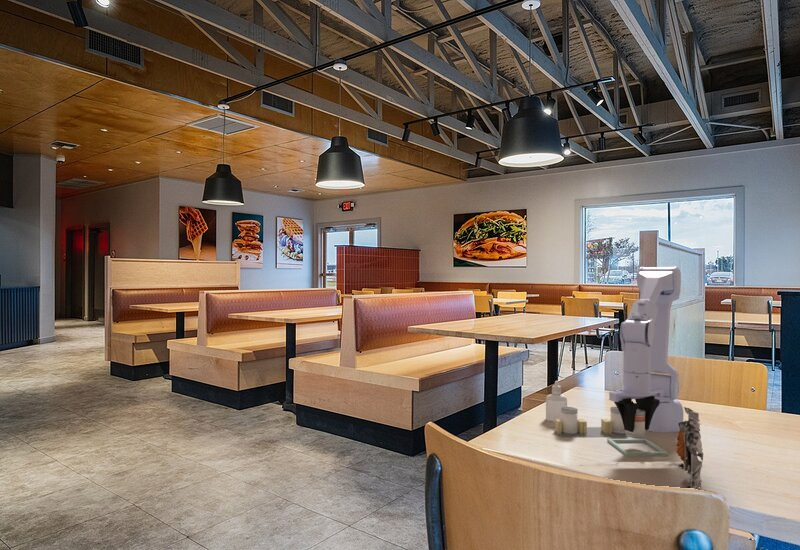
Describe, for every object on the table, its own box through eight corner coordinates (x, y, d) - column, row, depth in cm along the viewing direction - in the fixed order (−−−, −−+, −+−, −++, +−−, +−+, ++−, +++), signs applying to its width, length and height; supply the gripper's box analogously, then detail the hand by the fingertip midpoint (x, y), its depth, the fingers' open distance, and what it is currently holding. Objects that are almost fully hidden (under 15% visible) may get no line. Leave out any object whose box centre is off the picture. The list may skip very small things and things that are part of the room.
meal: (674, 465, 109) (674, 405, 109) (697, 469, 107) (697, 408, 107) (677, 492, 95) (678, 424, 95) (703, 496, 93) (704, 427, 93)
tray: (646, 446, 121) (646, 438, 121) (668, 460, 111) (668, 452, 111) (607, 446, 121) (607, 438, 121) (626, 461, 111) (626, 453, 111)
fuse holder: (624, 431, 132) (624, 415, 132) (640, 441, 124) (640, 424, 124) (550, 431, 132) (550, 416, 132) (561, 442, 124) (561, 425, 124)
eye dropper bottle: (562, 428, 135) (562, 384, 135) (543, 423, 139) (543, 381, 139) (569, 424, 138) (569, 381, 138) (550, 420, 142) (550, 378, 142)
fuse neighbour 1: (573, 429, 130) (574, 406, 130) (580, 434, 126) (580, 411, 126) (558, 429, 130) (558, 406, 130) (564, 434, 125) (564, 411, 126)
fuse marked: (649, 437, 115) (649, 411, 115) (635, 439, 114) (635, 413, 114) (635, 432, 119) (635, 407, 119) (621, 433, 117) (621, 408, 117)
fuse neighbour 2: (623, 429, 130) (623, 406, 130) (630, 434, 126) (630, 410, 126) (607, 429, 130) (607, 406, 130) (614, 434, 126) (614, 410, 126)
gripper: (646, 366, 122) (646, 421, 122) (599, 370, 117) (599, 427, 117) (671, 372, 116) (670, 430, 116) (622, 376, 111) (622, 436, 110)
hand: (636, 429), depth 116 cm, fingers closed on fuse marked, 4 cm apart
